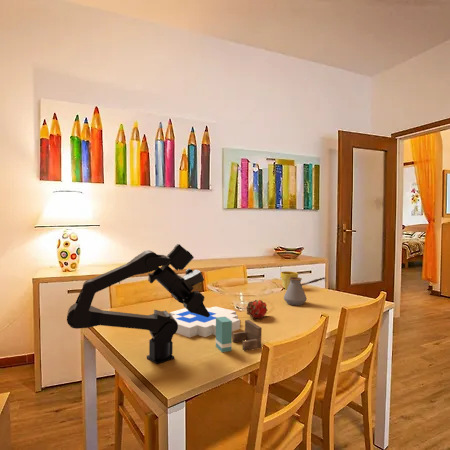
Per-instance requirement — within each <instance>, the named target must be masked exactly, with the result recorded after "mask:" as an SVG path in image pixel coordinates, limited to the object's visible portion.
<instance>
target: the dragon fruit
mask: <svg viewBox="0 0 450 450" xmlns="http://www.w3.org/2000/svg"><path fill="white" fill-rule="evenodd" d="M267 312H268V308H267V303H266V302H264V301H263V300H262V299H259V300H257V299H255V300H253V301H249V302H248V303H247V306H246V314H247V315H249V317H250V318H252V319H253V320H255V319H257V318H258V319H261V320H262V319H263V318H265V315H266V314H267Z"/></svg>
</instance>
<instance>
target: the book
mask: <svg viewBox="0 0 450 450" xmlns="http://www.w3.org/2000/svg"><path fill="white" fill-rule="evenodd" d="M232 333H233V332H232V321H231V320H230V319H228V318H227V317H217V318H216V335H215V348H217V349H218V350H219V351H220V352H221V353H226V352H231V351H232V349H233V341H232Z"/></svg>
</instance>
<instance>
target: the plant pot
mask: <svg viewBox="0 0 450 450" xmlns="http://www.w3.org/2000/svg"><path fill="white" fill-rule="evenodd" d="M290 277H298V278H299V272H296V271H289V270H286V271H285V270H283V271H280V279H281V283H282V284H281V285H282V288H283V287H284V288H285V289H284V290H286V291H287V288H288V286H289V284H290V279H289V278H290Z"/></svg>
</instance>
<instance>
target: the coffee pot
mask: <svg viewBox="0 0 450 450" xmlns="http://www.w3.org/2000/svg"><path fill="white" fill-rule="evenodd" d="M289 279H290V284H289V286H288V288H287V290H286V291H285V293H284V295H283V299H284V302H286V304H287V305H290V306H302V305H304V304H305V302H306V301H307V296H306V293H305V291H304V289H303V286H305V285H309V284H313V283H317V282H319V281H324V282H327V278H326V277H325V276H324V277H319V278H316V279H313V280H309V281H307V282H304V283H301V281H302V280H303V279H302V277H299V276H298V277H290V278H289Z"/></svg>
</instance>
